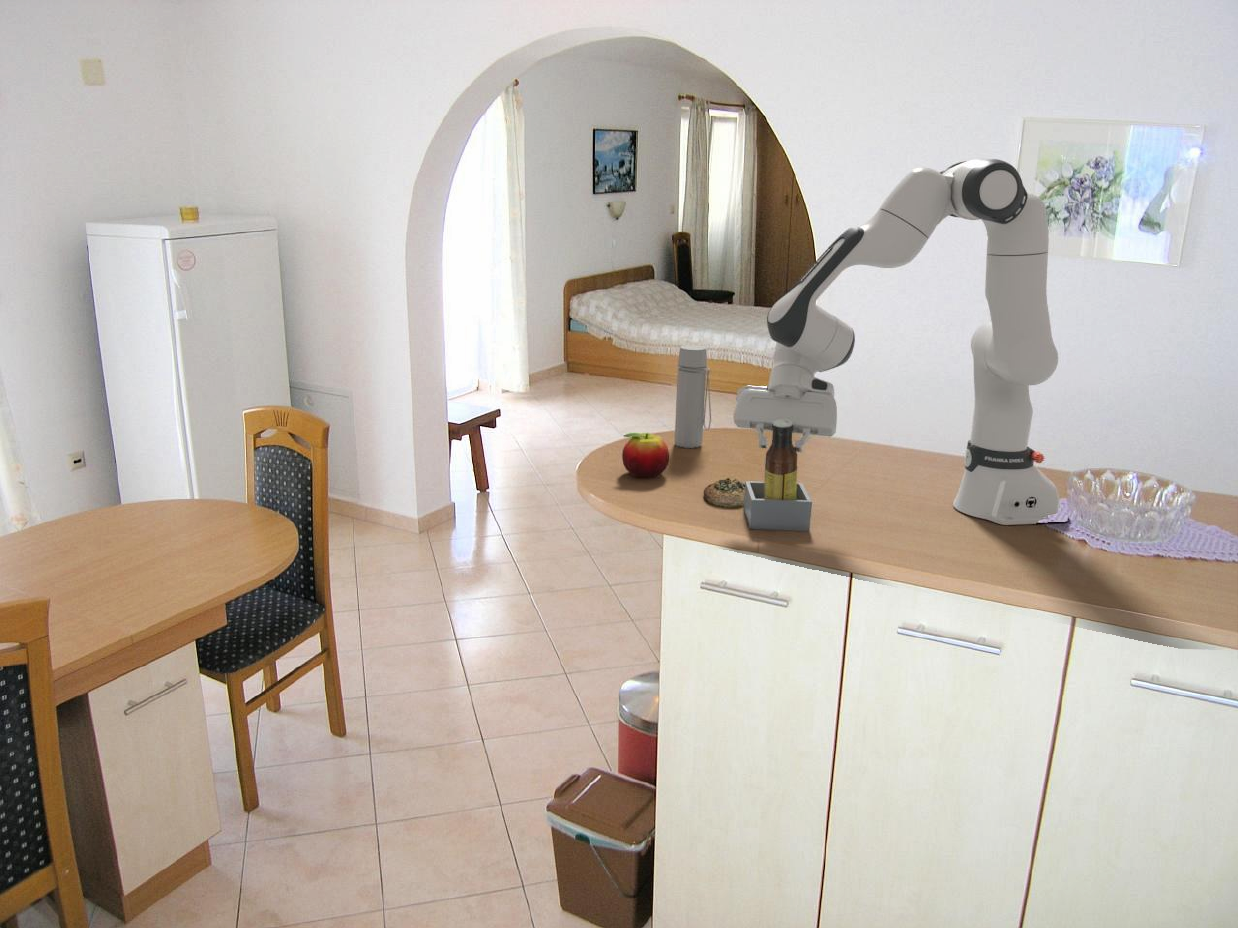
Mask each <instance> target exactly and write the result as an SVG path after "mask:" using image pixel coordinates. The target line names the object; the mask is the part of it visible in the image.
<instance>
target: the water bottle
mask: <svg viewBox="0 0 1238 928" xmlns="http://www.w3.org/2000/svg"><path fill="white" fill-rule="evenodd" d="M707 356H708V355H707V347H706V346H703V345H696V344H695V345H693V344H691V345H681V346H680V348H679V353H678V361H677V367H678V369H677V376H676V377H677V378H676V382H677V383H676V397H675V398H676V401H675V402H676V403H675V421H674V422H675V423H674V424H675V425H674V444H675V446H677V447H679V446H680V447H679V448H682V447H686V448H685V449H690V448H691V449H695V448H694V447H697V448H699V447H701V446H702V445H703V435H704V434H703V433H704V429H705V430H709V429H710V427H711V425H712V424H711V423H712V411H711V410H712V409H711V393H710V391H711V390H710V373H711V368H710V367H708V361H707V360H708V359H707ZM707 396H708V397H707ZM707 398H708V408H709V409H708V410H709V411H708V413H709V422H708V423H709V425H708V427H706V424H705V423H706V413H707V411H706V409H707ZM698 446H699V447H698Z"/></svg>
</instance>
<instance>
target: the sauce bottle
mask: <svg viewBox="0 0 1238 928" xmlns="http://www.w3.org/2000/svg"><path fill="white" fill-rule="evenodd" d="M793 425H794V424H793V422H792V421H790V420H785V419H778V420H775V421H773V422H772V431H771V432H772V439H771V444H770V445H769V448H768V450H767V451H766V454H765V465H764V482H765V483H764V499H782V500H796V490H797V483H798V452H796V451H795V449H794V444H793V433H792V431H793V429H794V427H793Z"/></svg>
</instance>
